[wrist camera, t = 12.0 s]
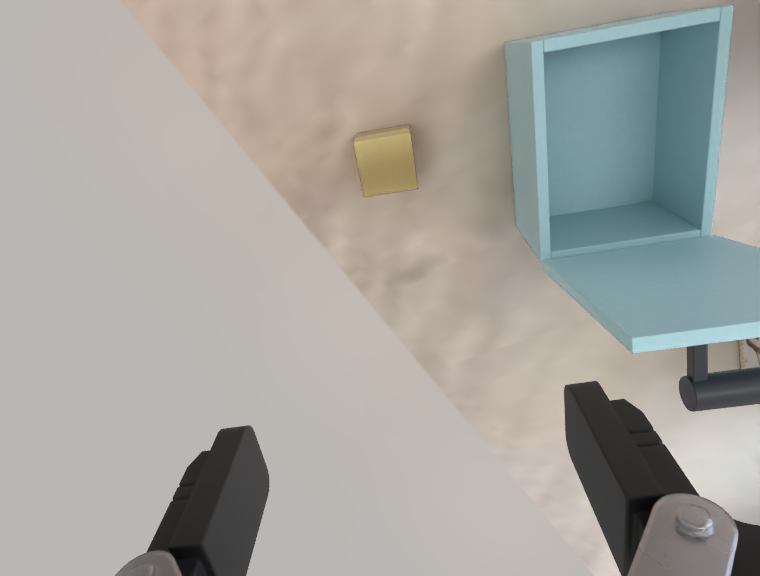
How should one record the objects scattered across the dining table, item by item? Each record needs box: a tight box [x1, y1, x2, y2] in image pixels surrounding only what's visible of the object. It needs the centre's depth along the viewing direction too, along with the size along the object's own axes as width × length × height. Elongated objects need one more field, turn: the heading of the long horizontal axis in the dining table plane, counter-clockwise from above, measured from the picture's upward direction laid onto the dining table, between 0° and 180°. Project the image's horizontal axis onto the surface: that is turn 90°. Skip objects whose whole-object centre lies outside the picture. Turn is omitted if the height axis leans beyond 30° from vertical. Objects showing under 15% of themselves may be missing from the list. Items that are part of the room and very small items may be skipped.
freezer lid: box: [542, 235, 760, 411], centre depth 32 cm, size 16×13×5 cm
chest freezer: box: [504, 5, 734, 263], centre depth 40 cm, size 16×13×9 cm
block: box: [353, 124, 418, 197], centre depth 44 cm, size 4×4×4 cm
